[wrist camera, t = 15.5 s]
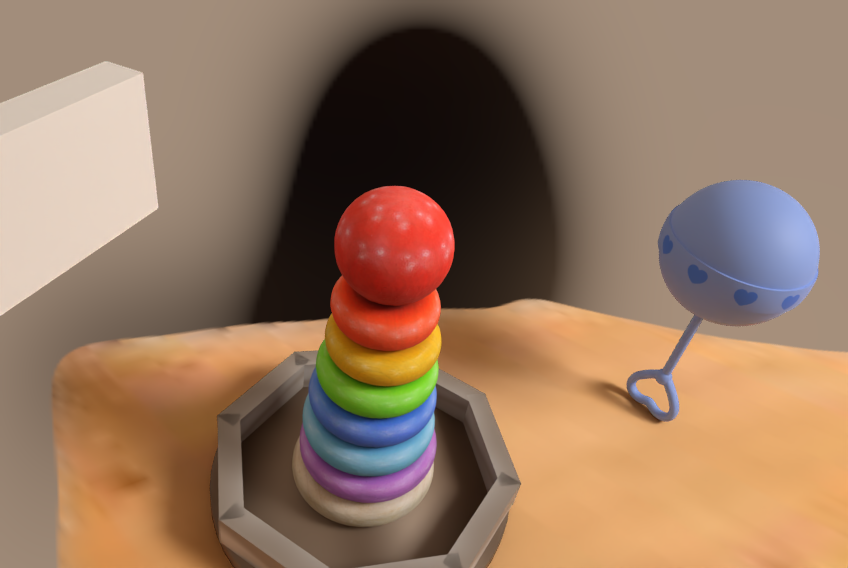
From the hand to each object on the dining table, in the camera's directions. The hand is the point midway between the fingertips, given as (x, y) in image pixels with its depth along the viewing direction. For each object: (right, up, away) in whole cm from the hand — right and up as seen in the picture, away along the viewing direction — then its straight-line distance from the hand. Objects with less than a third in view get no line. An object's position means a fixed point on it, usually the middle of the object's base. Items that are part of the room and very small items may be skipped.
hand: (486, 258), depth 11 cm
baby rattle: (+15, -10, +37) cm, 41 cm away
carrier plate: (-5, -12, +29) cm, 32 cm away
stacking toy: (-5, -11, +28) cm, 31 cm away
